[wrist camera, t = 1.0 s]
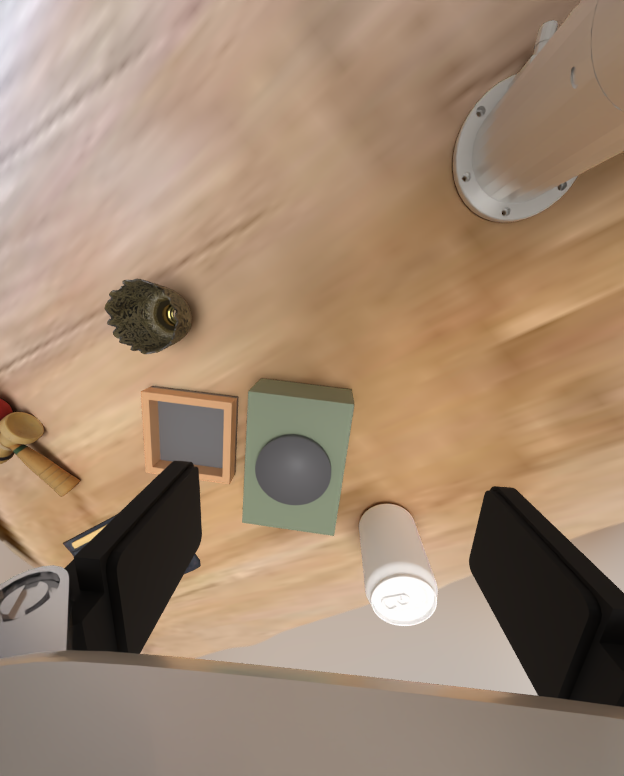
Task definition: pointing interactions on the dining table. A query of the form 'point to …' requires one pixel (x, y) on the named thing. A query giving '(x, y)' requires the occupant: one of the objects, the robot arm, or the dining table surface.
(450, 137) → the dining table surface
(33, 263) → the dining table surface
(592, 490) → the dining table surface
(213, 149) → the dining table surface
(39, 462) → the kendama
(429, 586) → the beverage can
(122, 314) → the dark bronze domed piece
